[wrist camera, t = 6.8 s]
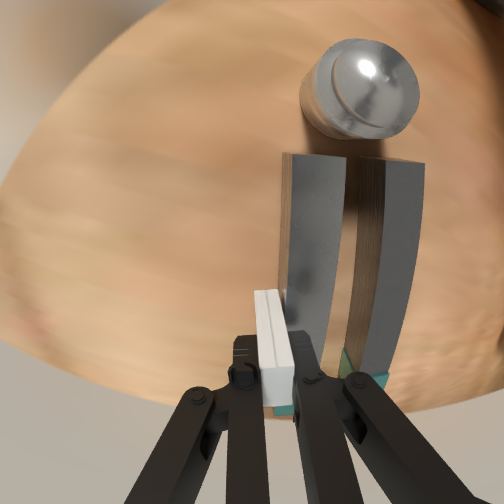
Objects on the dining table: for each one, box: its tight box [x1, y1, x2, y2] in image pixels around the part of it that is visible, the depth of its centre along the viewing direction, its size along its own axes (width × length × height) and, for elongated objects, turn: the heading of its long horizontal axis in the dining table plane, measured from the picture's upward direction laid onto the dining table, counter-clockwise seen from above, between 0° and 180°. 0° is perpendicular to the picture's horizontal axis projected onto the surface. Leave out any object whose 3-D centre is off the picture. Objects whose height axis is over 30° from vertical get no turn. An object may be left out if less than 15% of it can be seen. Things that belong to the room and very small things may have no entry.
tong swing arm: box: [273, 40, 420, 416], centre depth 15 cm, size 23×6×5 cm, turn 0°
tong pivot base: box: [299, 39, 425, 390], centre depth 15 cm, size 24×6×4 cm, turn 4°
